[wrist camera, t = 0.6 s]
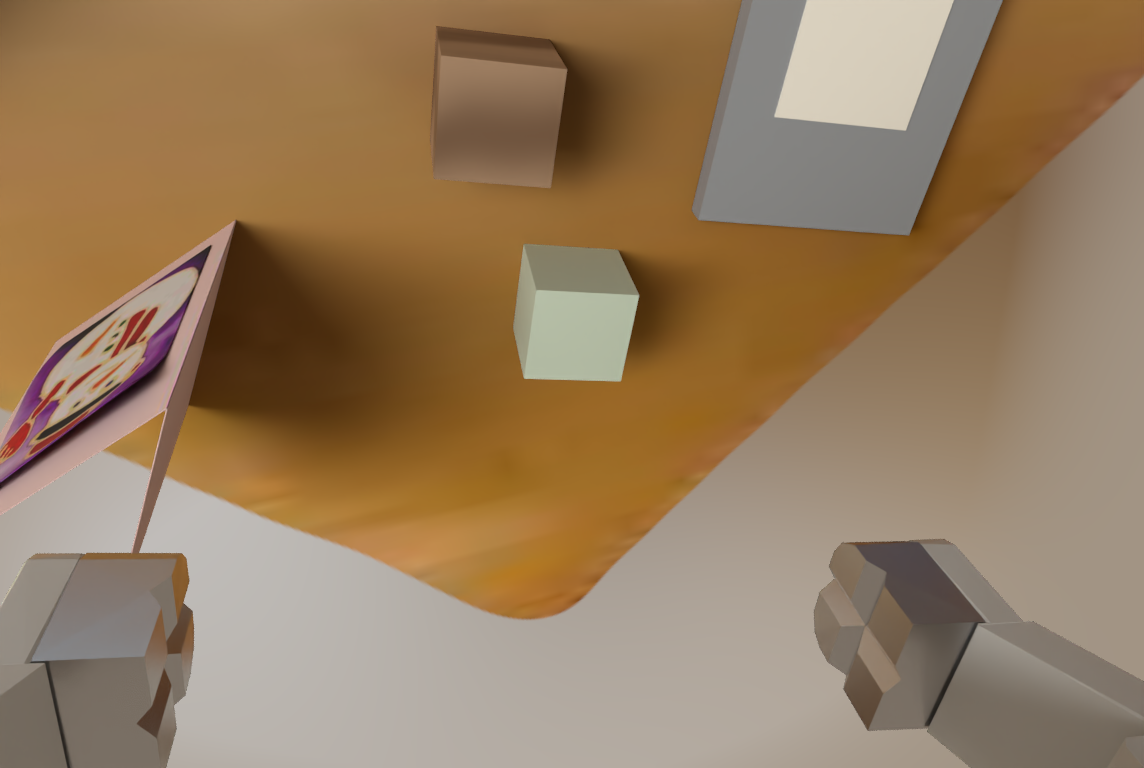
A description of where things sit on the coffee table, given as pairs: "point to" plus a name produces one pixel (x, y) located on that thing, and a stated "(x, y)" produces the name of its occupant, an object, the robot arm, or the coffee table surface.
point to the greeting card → (116, 379)
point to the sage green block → (573, 313)
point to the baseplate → (838, 110)
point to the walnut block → (495, 108)
